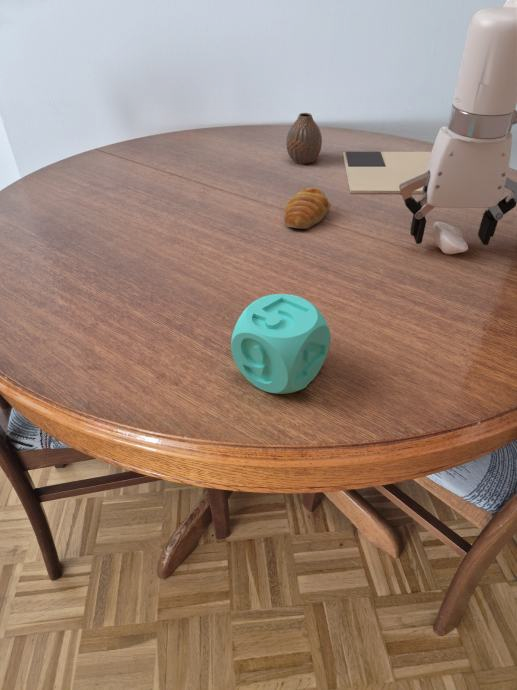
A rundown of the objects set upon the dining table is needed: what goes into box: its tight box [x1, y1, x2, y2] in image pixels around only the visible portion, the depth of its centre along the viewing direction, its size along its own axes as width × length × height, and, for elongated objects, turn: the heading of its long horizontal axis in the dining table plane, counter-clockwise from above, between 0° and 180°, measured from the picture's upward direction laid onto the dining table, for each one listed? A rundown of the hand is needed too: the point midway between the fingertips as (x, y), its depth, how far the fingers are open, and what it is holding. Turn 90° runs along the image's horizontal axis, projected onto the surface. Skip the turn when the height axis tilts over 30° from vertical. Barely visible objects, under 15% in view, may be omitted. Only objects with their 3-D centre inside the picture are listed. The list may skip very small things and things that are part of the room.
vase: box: [285, 112, 323, 165], centre depth 105 cm, size 7×7×9 cm
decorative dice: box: [230, 293, 332, 395], centre depth 60 cm, size 8×8×8 cm
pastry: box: [284, 187, 332, 230], centre depth 88 cm, size 9×7×4 cm
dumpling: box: [432, 221, 469, 255], centre depth 81 cm, size 7×5×4 cm
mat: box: [342, 151, 432, 195], centre depth 103 cm, size 20×18×1 cm
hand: (449, 239), depth 81 cm, fingers open, 9 cm apart
